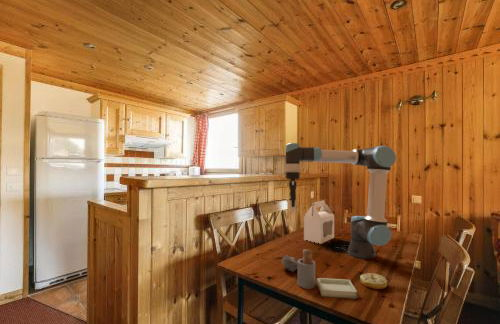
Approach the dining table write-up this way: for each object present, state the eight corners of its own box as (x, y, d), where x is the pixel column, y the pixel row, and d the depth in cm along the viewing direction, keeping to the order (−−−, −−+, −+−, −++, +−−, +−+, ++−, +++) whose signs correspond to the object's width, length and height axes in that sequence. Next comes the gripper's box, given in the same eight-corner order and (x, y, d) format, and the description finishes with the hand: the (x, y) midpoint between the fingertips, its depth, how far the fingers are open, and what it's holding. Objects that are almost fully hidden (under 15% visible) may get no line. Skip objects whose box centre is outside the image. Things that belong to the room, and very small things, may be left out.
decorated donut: (359, 278, 116) (359, 270, 116) (384, 281, 112) (384, 273, 112) (361, 288, 106) (361, 279, 106) (389, 292, 102) (389, 283, 103)
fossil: (305, 272, 122) (305, 255, 122) (293, 277, 116) (293, 260, 116) (288, 265, 130) (288, 250, 130) (276, 269, 124) (276, 253, 125)
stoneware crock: (313, 281, 112) (313, 259, 112) (316, 289, 104) (316, 265, 105) (296, 280, 113) (297, 258, 113) (298, 287, 105) (298, 264, 105)
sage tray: (349, 285, 108) (349, 279, 108) (357, 298, 97) (357, 292, 97) (317, 283, 109) (317, 277, 110) (321, 296, 99) (321, 289, 99)
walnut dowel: (311, 281, 110) (314, 249, 110) (312, 285, 106) (316, 252, 106) (299, 279, 111) (302, 247, 111) (299, 283, 107) (303, 250, 107)
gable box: (318, 234, 193) (318, 198, 193) (334, 237, 184) (334, 200, 184) (303, 240, 176) (303, 201, 177) (320, 244, 167) (320, 203, 168)
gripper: (285, 171, 146) (285, 207, 145) (285, 171, 121) (285, 214, 120) (298, 171, 145) (298, 207, 144) (301, 171, 120) (301, 215, 119)
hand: (292, 210), depth 132 cm, fingers open, 13 cm apart
